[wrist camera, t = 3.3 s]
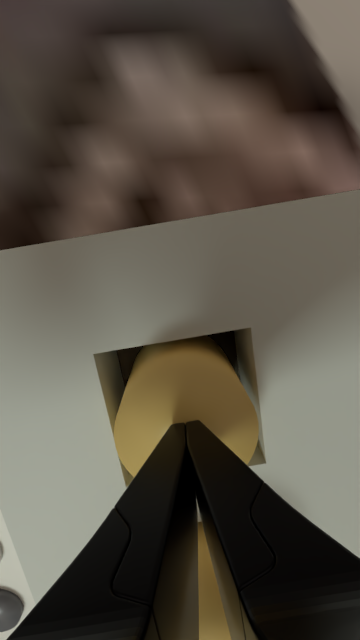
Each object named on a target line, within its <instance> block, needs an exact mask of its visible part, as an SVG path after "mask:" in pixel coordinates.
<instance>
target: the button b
mask: <svg viewBox="0 0 360 640" xmlns="http://www.w3.org/2000/svg"><path fill="white" fill-rule="evenodd" d="M198 590H199V640H231V636H230V632H229V628H228V624H227V620H226V616H225V612H224V608H223V604H222V600H221V596H220V593H219V589H218V585H217V581H216V577H215V573H214V569H213V565H212V561H211V557H210V553H209V549H208V545H207V541H206V537H205V533H204V529H203V525H202V521H201V522H198Z"/></svg>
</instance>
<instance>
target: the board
mask: <svg viewBox="0 0 360 640" xmlns="http://www.w3.org/2000/svg"><path fill="white" fill-rule="evenodd" d="M232 330H234V336H235V344H236V351H237V359H238V367H239V375H240V382H241V383H242V385H243V387H244V389H245V391H246V392H247V394H248V396H249V398H250V400H251V402H252V404H253V405H254V408H255V411H256V413H257V418H258V423H259V435H258V442H257V445H256V449H255V451H254V454H253V456H252V458H251V459H250V461H249V463H248V464H247V466H249V467H250V468H251V469H252V470H253V471H254V472H255V473H256V474H257V475H258V476H259V477H260V478H261V479H262V480H263V481H264V483H267V484H268V485H269V486H270V487H271V488H272V489H273V490H274V491H275V492H276V493H277V494H278V495H280V496H281V497H282V498H283V499H284V500H285V501H286V502H287V503H289V504H290V505H291V506H292V507H293V508H294V509H296V510H297V511H298V512H300V513H301V514H302V515H303V516H305V517H306V518H307V519H308V520H310V521H311V522H312V523H313V524H315V525H316V526H317V527H319V528H320V529H321V530H323V531H324V532H325V533H327V534H328V535H329V536H331V537H332V538H333V539H335V540H336V541H337V542H339V543H340V544H341V545H343V546H344V547H345V548H347V549H348V550H349V551H351V552H352V553H354V554H355V555H356V556H358V557H359V558H360V189H359V190H353V191H347V192H341V193H335V194H329V195H323V196H318V197H312V198H306V199H300V200H294V201H288V202H282V203H276V204H270V205H265V206H259V207H253V208H247V209H241V210H235V211H229V212H223V213H218V214H212V215H206V216H200V217H194V218H188V219H182V220H176V221H170V222H165V223H159V224H153V225H147V226H141V227H135V228H129V229H123V230H117V231H112V232H106V233H100V234H94V235H88V236H82V237H76V238H70V239H65V240H59V241H53V242H47V243H41V244H35V245H29V246H23V247H17V248H12V249H6V250H0V510H1V513H2V515H3V518H4V521H5V523H6V526H7V529H8V532H9V534H10V537H11V540H12V542H13V545H14V548H15V550H16V553H17V556H18V558H19V561H20V564H21V566H22V569H23V572H24V575H25V577H26V580H27V583H28V585H29V588H30V591H31V593H32V596H33V599H34V601H35V604H37V603H38V602H39V601H40V600H41V598H42V597H43V596H44V595H45V594H46V592H47V591H48V590H49V589H50V588H51V586H52V585H53V584H54V583H55V582H56V581H57V579H58V578H59V577H60V576H61V575H62V573H63V572H64V571H65V570H66V569H67V567H68V566H69V565H70V564H71V563H72V561H73V560H74V559H75V558H76V556H77V555H78V554H79V553H80V552H81V550H82V549H83V548H84V547H85V545H86V544H87V543H88V542H89V540H90V539H91V538H92V536H93V535H94V534H95V532H96V531H97V529H98V528H99V527H100V525H101V524H102V523H103V521H104V520H105V519H106V517H107V516H108V514H109V513H110V511H111V510H112V509H113V508H114V506H115V504H116V503H117V501H118V500H119V499H120V497H121V496H122V494H123V493H124V491H125V490H126V489H127V487H128V486H129V484H130V483H131V481H132V480H133V478H134V477H133V476H132V475H131V474H130V473H129V472H128V470H127V469H126V468H125V466H124V465H123V463H122V462H121V460H120V458H119V456H118V453H117V450H116V447H115V441H114V426H115V420H116V416H117V413H118V410H119V407H120V404H121V401H122V397H123V394H124V391H125V386H124V382H123V377H122V373H121V369H120V364H119V360H118V355H117V351H116V350H120V349H126V348H132V347H138V346H144V345H150V344H155V343H161V342H167V341H173V340H179V339H185V338H191V337H197V336H203V335H209V334H215V333H221V332H226V331H232ZM196 499H197V498H196ZM197 512H198V522H201V517H200V513H199V509H198V504H197Z"/></svg>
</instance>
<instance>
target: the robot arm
mask: <svg viewBox="0 0 360 640" xmlns="http://www.w3.org/2000/svg"><path fill="white" fill-rule="evenodd" d="M196 498H197V499H196ZM197 504H198V509H199V513H200V517H201V521H202V525H203V529H204V533H205V537H206V541H207V545H208V549H209V553H210V557H211V561H212V565H213V569H214V573H215V577H216V581H217V585H218V589H219V593H220V596H221V600H222V604H223V608H224V612H225V616H226V620H227V624H228V628H229V632H230V636H231V640H360V558H359V557H358V556H356V555H355V554H354V553H352V552H351V551H349V550H348V549H347V548H345V547H344V546H343V545H341V544H340V543H339V542H337V541H336V540H335V539H333V538H332V537H331V536H329V535H328V534H327V533H325V532H324V531H323V530H321V529H320V528H319V527H317V526H316V525H315V524H313V523H312V522H311V521H310V520H308V519H307V518H306V517H305V516H303V515H302V514H301V513H300V512H298V511H297V510H296V509H294V508H293V507H292V506H291V505H290V504H289V503H287V502H286V501H285V500H284V499H283V498H282V497H281V496H280V495H278V494H277V493H276V492H275V491H274V490H273V489H272V488H271V487H270V486H269V485H268V484H267V483H264V481H263V480H262V479H261V478H260V477H259V476H258V475H257V474H256V473H255V472H254V471H253V470H252V469H251V468H250V467H249V466H247V465H246V464H245V463H244V462H243V461H242V460H241V459H240V458H239V457H238V456H237V455H236V454H235V453H234V452H233V451H232V450H231V449H229V448H228V447H227V446H226V445H225V444H224V443H223V442H222V441H221V440H220V439H219V438H218V437H217V436H216V435H215V434H214V433H213V432H212V431H210V430H209V429H208V428H207V427H206V426H205V425H204V424H203V423H202V422H201V421H200V420H194V421H188V422H186V425H185V423H176V424H172V425H170V427H169V428H168V430H167V431H166V433H165V434H164V435H163V437H162V438H161V440H160V441H159V443H158V444H157V445H156V447H155V448H154V450H153V451H152V453H151V454H150V455H149V457H148V458H147V460H146V461H145V463H144V464H143V466H142V467H141V468H140V470H139V471H138V473H137V474H136V476H135V477H134V478H133V480H132V481H131V483H130V484H129V486H128V487H127V489H126V490H125V491H124V493H123V494H122V496H121V497H120V499H119V500H118V501H117V503H116V504H115V506H114V508H113V509H112V510H111V511H110V513H109V514H108V516H107V517H106V519H105V520H104V521H103V523H102V524H101V525H100V527H99V528H98V529H97V531H96V532H95V534H94V535H93V536H92V538H91V539H90V540H89V542H88V543H87V544H86V545H85V547H84V548H83V549H82V550H81V552H80V553H79V554H78V555H77V556H76V558H75V559H74V560H73V561H72V563H71V564H70V565H69V566H68V567H67V569H66V570H65V571H64V572H63V573H62V575H61V576H60V577H59V578H58V579H57V581H56V582H55V583H54V584H53V585H52V586H51V588H50V589H49V590H48V591H47V592H46V594H45V595H44V596H43V597H42V598H41V600H40V601H39V602H38V603H37V604H36V605H35V607H34V608H33V609H32V610H31V611H30V613H29V614H28V615H27V616H26V617H25V619H24V620H23V621H22V622H21V623H20V624H19V626H18V627H17V628H16V629H15V630H14V631H13V632H12V634H11V635H10V636H9V637H8V638H7V639H6V640H199V590H198V512H197Z"/></svg>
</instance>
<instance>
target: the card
mask: <svg viewBox="0 0 360 640" xmlns="http://www.w3.org/2000/svg"><path fill="white" fill-rule="evenodd" d="M35 605H36V604H35V601H34V599H33V596H32V593H31V591H30V588H29V585H28V583H27V580H26V577H25V575H24V572H23V569H22V566H21V564H20V561H19V558H18V556H17V553H16V550H15V548H14V545H13V542H12V540H11V537H10V534H9V532H8V529H7V526H6V523H5V521H4V518H3V515H2V513H1V510H0V640H6V639H7V638H8V637H9V636H10V635H11V634H12V632H13V631H14V630H15V629H16V628H17V627H18V626H19V624H20V623H21V622H22V621H23V620H24V619H25V617H26V616H27V615H28V614H29V613H30V611H31V610H32V609H33V608H34V607H35Z"/></svg>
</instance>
